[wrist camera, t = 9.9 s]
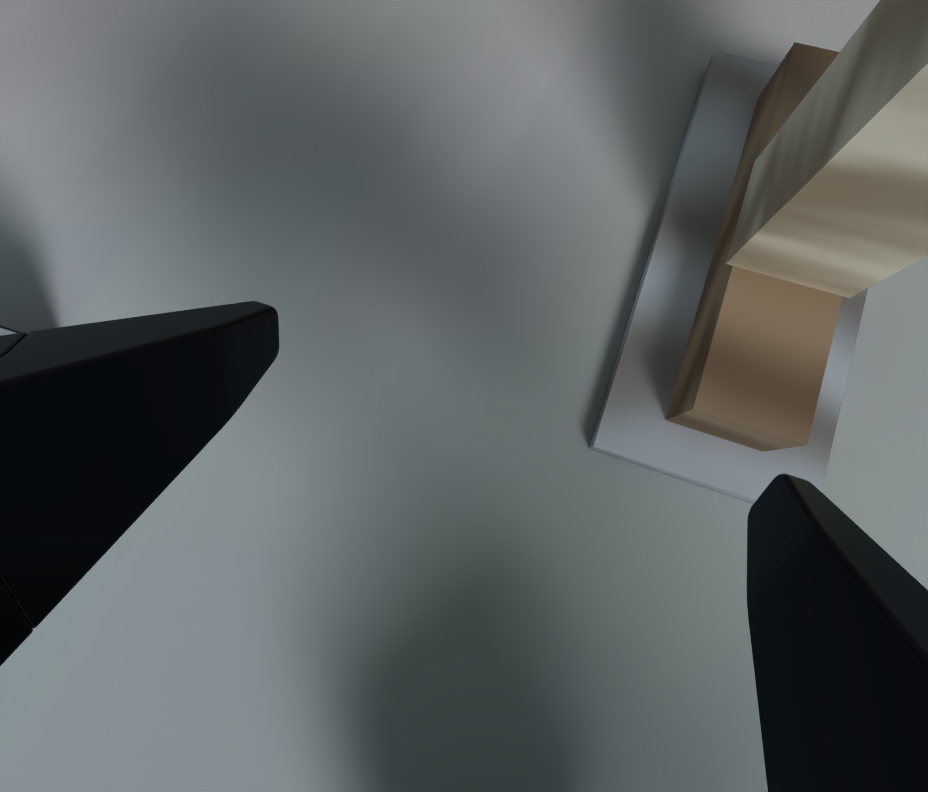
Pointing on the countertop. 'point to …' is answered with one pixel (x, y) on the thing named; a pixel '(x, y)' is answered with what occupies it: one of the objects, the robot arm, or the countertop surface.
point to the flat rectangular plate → (729, 312)
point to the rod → (847, 166)
